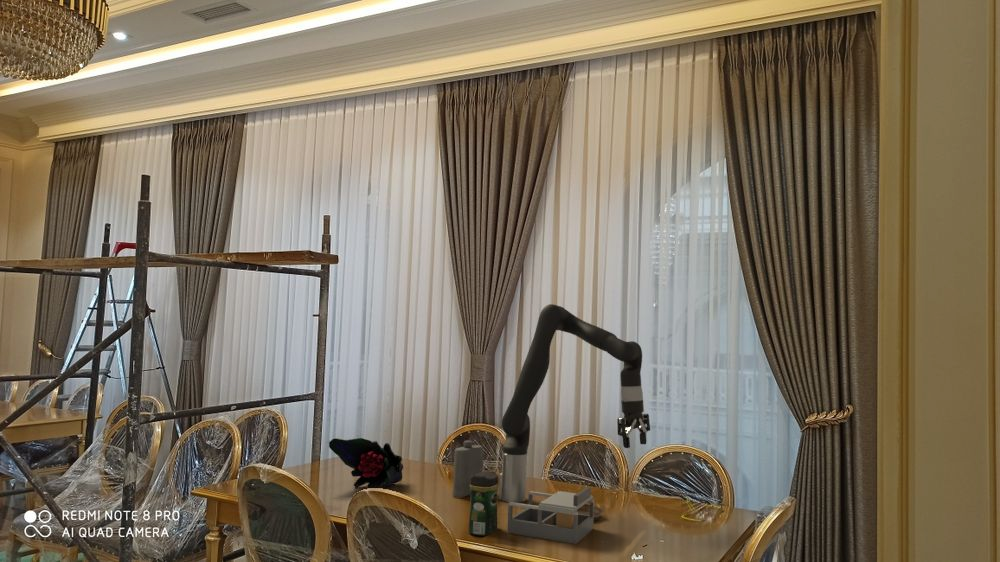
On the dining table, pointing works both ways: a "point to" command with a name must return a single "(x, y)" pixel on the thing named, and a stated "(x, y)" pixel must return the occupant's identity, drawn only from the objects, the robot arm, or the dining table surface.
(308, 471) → the dining table surface
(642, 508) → the dining table surface
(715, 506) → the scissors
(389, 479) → the decorative plant
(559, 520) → the module
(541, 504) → the lid
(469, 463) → the flask
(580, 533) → the case
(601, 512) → the plant saucer
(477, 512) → the coffee jar
